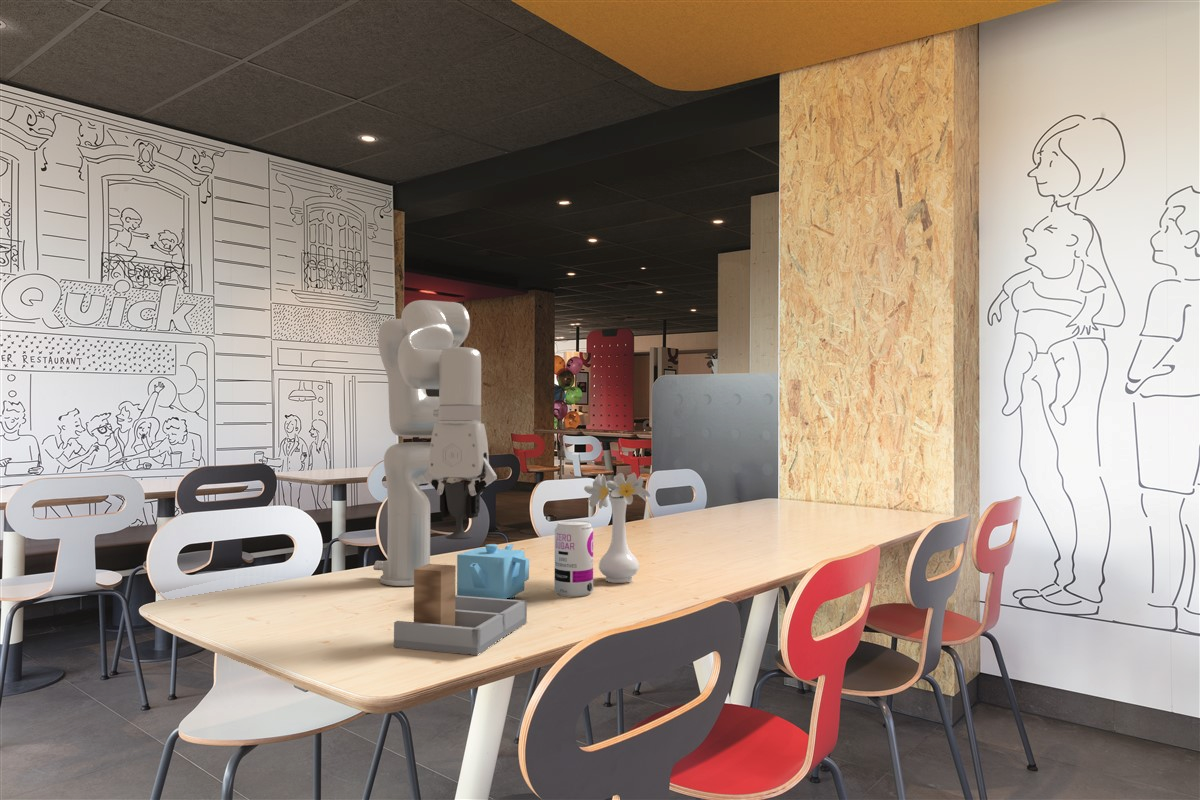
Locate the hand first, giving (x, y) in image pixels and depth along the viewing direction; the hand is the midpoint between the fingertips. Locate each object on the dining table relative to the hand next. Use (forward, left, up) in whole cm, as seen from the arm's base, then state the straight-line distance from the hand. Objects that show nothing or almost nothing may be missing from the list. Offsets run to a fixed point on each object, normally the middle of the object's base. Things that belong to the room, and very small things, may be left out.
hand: (459, 515), depth 137 cm
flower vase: (+16, +45, -20) cm, 52 cm away
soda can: (+11, +30, -20) cm, 38 cm away
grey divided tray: (+3, -5, -20) cm, 20 cm away
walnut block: (0, -9, -18) cm, 21 cm away
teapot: (-3, +20, -20) cm, 28 cm away
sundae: (0, 0, -4) cm, 4 cm away
